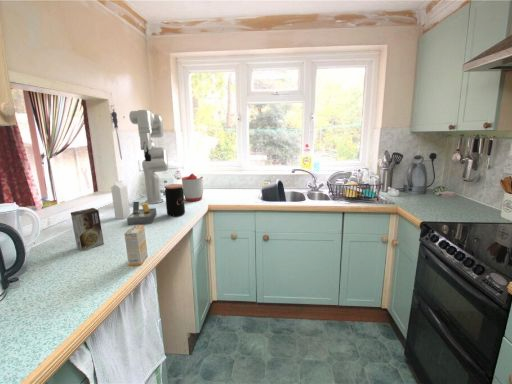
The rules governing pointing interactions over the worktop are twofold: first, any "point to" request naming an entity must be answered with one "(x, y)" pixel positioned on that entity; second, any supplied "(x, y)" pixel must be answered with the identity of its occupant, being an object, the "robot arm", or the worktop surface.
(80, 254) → the worktop surface
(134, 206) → the paddle black
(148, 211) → the paddle amber
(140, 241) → the supplement box
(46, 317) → the worktop surface
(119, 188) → the milk
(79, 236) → the coffee box
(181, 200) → the coffee jar
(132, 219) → the switch panel
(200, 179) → the citrus juicer
